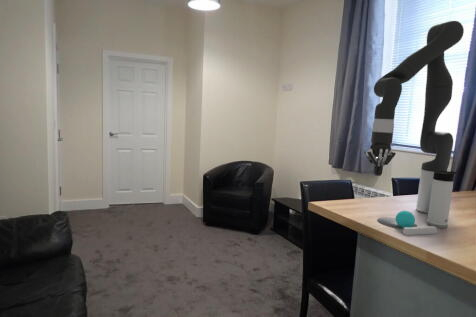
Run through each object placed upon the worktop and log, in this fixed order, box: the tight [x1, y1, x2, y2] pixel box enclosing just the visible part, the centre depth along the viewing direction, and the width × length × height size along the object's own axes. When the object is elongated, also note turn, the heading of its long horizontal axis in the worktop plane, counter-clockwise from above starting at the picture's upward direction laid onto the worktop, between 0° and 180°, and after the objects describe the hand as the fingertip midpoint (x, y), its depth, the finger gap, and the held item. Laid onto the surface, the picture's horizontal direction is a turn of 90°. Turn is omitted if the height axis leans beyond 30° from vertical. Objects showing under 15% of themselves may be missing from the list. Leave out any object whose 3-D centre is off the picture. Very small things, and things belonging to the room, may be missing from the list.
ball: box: [395, 210, 416, 228], centre depth 116 cm, size 6×6×6 cm
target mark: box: [377, 216, 418, 230], centre depth 122 cm, size 13×13×1 cm
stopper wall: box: [402, 225, 438, 236], centre depth 112 cm, size 12×2×2 cm, turn 106°
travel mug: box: [426, 170, 457, 229], centre depth 120 cm, size 6×7×20 cm
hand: (377, 175), depth 132 cm, fingers closed
